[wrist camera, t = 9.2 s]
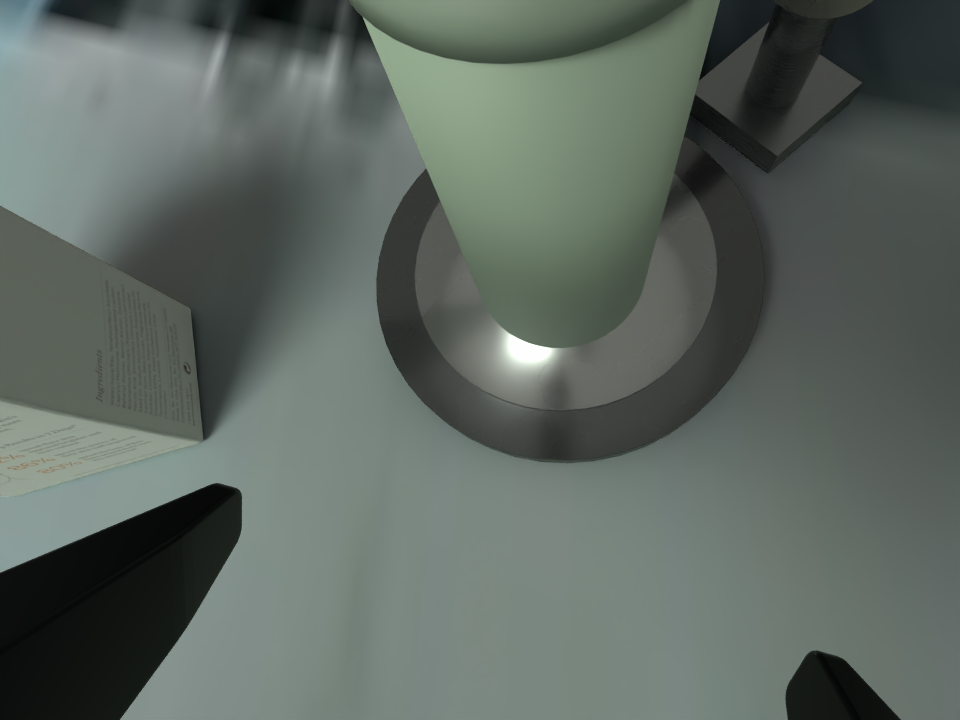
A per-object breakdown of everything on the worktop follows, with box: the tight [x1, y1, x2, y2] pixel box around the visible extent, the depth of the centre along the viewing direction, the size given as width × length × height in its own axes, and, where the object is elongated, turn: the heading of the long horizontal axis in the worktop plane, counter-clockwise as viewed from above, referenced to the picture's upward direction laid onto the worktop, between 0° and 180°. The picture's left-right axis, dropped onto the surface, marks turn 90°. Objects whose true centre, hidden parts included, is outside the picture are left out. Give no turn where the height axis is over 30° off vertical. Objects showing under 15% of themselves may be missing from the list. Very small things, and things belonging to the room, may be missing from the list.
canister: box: [348, 0, 720, 348], centre depth 13 cm, size 6×6×13 cm
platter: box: [377, 136, 765, 463], centre depth 20 cm, size 13×13×1 cm
